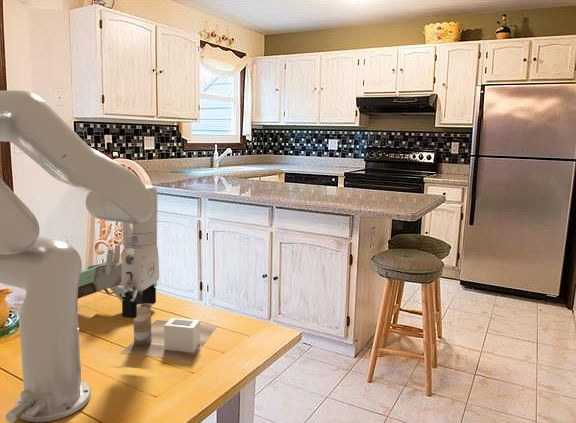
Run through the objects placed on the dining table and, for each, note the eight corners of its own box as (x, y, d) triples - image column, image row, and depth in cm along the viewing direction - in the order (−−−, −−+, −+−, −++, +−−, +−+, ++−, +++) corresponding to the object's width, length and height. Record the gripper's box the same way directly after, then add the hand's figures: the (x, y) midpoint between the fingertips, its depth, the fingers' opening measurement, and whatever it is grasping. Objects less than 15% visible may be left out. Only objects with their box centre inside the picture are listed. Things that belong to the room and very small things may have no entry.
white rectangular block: (193, 352, 102) (193, 327, 101) (164, 349, 103) (164, 324, 102) (199, 343, 107) (199, 319, 106) (172, 340, 108) (171, 317, 106)
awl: (146, 347, 104) (146, 310, 102) (131, 345, 105) (129, 309, 103) (154, 339, 108) (153, 304, 106) (139, 337, 108) (138, 303, 107)
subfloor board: (191, 365, 99) (191, 360, 98) (120, 358, 101) (120, 353, 101) (217, 329, 117) (217, 325, 117) (156, 323, 120) (156, 319, 119)
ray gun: (151, 311, 121) (122, 244, 118) (49, 346, 124) (18, 282, 122) (160, 302, 128) (133, 238, 125) (63, 335, 132) (34, 274, 129)
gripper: (137, 247, 93) (137, 325, 95) (170, 233, 110) (169, 299, 112) (104, 244, 94) (104, 321, 96) (142, 230, 111) (141, 296, 113)
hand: (139, 309), depth 104 cm, fingers open, 9 cm apart
